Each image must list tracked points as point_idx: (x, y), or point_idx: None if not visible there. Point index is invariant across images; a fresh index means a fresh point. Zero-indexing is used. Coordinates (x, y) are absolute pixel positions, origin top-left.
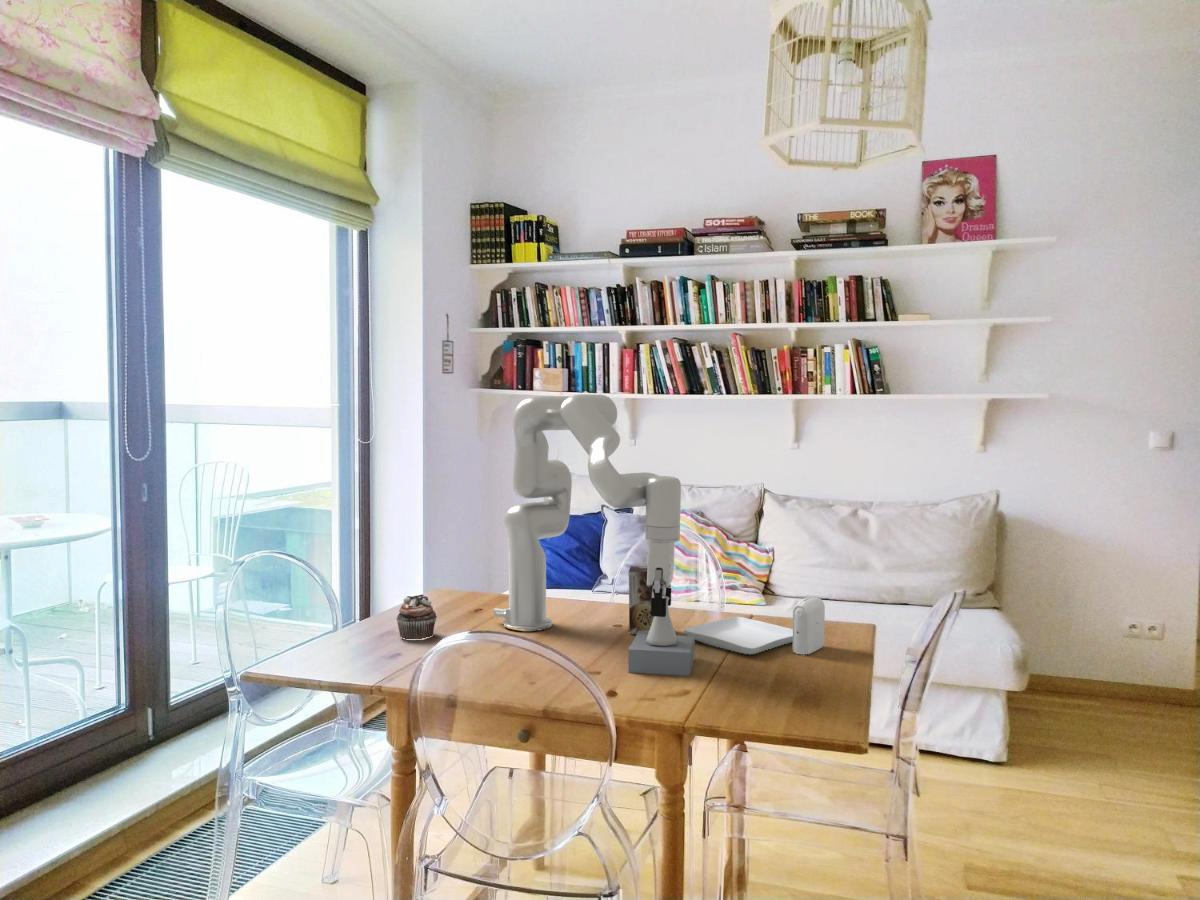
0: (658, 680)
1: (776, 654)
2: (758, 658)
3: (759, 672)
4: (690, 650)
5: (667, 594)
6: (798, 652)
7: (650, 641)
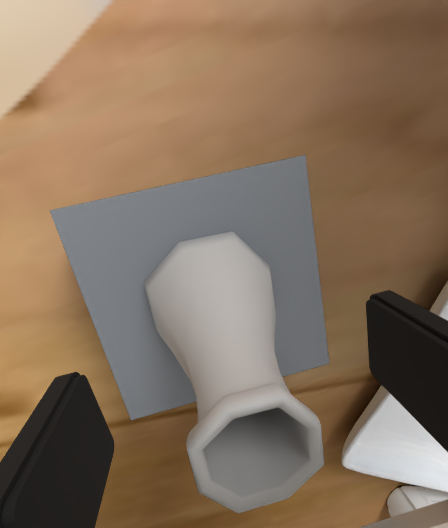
0: (60, 313)
1: None
2: (343, 445)
3: None
4: (167, 407)
5: (430, 414)
6: (391, 501)
7: (154, 276)
